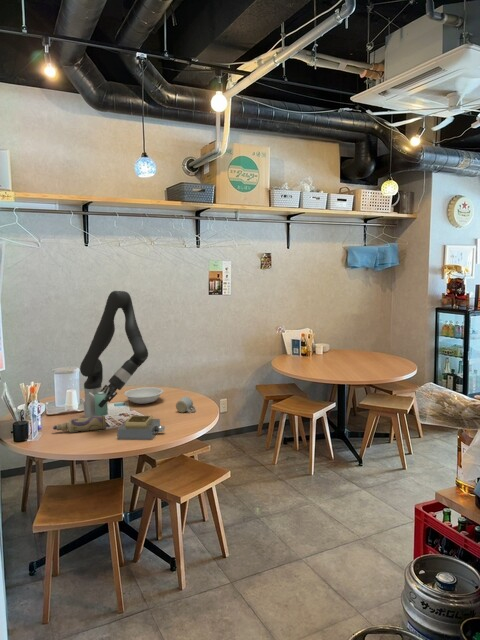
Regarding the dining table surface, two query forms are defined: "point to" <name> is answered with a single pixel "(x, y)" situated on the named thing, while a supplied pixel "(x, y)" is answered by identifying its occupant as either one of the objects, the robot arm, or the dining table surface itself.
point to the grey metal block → (139, 428)
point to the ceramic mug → (185, 405)
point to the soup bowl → (143, 394)
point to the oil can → (98, 399)
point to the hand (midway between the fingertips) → (97, 405)
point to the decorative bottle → (83, 424)
